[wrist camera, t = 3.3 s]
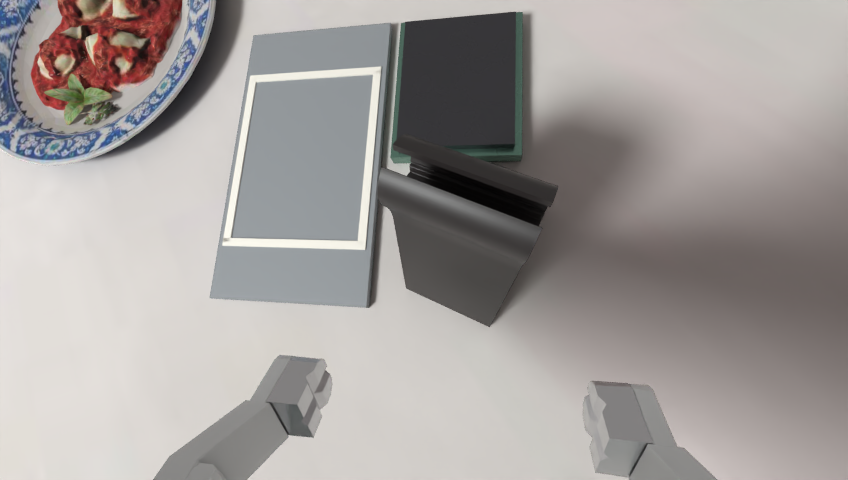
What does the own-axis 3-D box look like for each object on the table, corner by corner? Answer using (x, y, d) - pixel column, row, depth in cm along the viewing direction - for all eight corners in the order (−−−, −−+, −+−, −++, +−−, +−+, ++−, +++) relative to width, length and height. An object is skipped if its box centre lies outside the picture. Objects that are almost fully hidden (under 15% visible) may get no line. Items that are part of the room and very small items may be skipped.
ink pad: (521, 22, 26) (523, 4, 25) (520, 161, 24) (522, 150, 22) (404, 33, 28) (399, 16, 26) (394, 163, 26) (388, 154, 24)
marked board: (392, 28, 28) (390, 21, 27) (369, 307, 24) (365, 307, 23) (258, 40, 30) (252, 34, 29) (215, 298, 26) (208, 298, 25)
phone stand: (460, 171, 25) (437, 50, 13) (542, 202, 23) (599, 96, 12) (406, 288, 24) (331, 268, 12) (489, 327, 22) (492, 346, 11)
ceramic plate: (64, -67, 38) (30, -98, 35) (268, -62, 33) (246, -98, 30) (-38, 150, 34) (-86, 136, 31) (173, 197, 29) (138, 185, 26)
